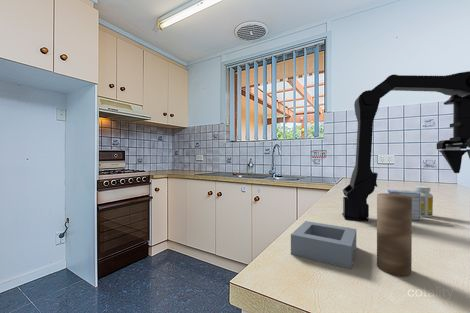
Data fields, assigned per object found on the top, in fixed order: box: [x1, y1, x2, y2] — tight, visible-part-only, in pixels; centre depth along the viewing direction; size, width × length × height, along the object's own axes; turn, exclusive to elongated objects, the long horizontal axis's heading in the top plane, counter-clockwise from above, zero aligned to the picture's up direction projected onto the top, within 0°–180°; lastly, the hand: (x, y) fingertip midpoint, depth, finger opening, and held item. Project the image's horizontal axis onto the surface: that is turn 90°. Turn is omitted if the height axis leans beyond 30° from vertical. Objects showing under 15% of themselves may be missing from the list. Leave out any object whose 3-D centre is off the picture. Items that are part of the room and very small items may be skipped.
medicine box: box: [387, 189, 422, 221], centre depth 71 cm, size 8×4×9 cm, turn 65°
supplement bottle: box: [414, 185, 434, 218], centre depth 74 cm, size 5×5×10 cm
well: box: [290, 220, 357, 270], centre depth 47 cm, size 11×11×4 cm
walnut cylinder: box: [376, 192, 413, 278], centre depth 39 cm, size 5×5×13 cm
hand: (467, 174), depth 62 cm, fingers open, 9 cm apart
